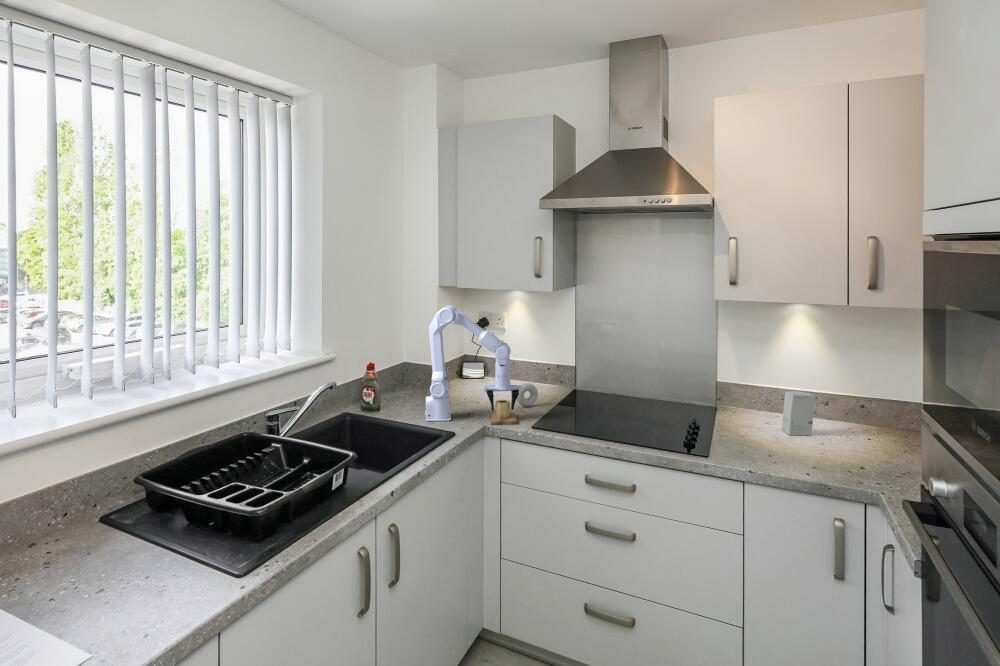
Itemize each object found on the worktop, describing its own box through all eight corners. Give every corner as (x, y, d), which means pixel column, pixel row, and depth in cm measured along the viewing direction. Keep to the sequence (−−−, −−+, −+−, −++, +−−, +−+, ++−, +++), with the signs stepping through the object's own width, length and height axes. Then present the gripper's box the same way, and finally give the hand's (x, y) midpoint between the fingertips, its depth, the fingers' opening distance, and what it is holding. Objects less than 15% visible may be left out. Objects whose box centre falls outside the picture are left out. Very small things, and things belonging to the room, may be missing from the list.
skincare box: (789, 435, 198) (792, 394, 196) (780, 430, 204) (783, 390, 202) (812, 435, 198) (816, 395, 196) (803, 430, 204) (807, 390, 202)
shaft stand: (490, 425, 210) (490, 410, 209) (488, 415, 222) (488, 401, 222) (517, 424, 211) (517, 410, 210) (513, 414, 223) (513, 401, 223)
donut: (535, 404, 239) (535, 381, 237) (539, 406, 236) (539, 383, 234) (514, 406, 235) (514, 383, 233) (517, 408, 232) (518, 385, 230)
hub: (496, 418, 213) (496, 403, 213) (495, 415, 219) (495, 400, 218) (510, 418, 214) (510, 403, 213) (508, 414, 219) (508, 399, 218)
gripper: (484, 377, 209) (484, 412, 211) (522, 376, 211) (522, 411, 213) (483, 373, 216) (483, 407, 218) (520, 373, 218) (520, 406, 220)
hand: (502, 409), depth 216 cm, fingers open, 7 cm apart
